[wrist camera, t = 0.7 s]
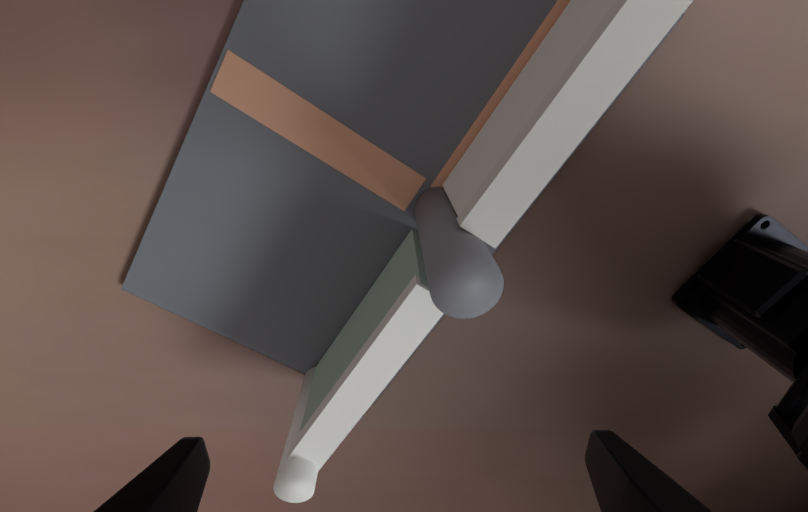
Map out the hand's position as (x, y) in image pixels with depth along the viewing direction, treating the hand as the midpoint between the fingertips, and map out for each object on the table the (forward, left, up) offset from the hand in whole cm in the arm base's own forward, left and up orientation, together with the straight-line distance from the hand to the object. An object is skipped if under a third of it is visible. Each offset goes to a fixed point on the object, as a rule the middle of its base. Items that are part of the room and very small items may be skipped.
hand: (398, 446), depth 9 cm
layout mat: (+3, -3, -13) cm, 14 cm away
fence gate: (-1, +5, -13) cm, 14 cm away
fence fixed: (-1, -8, -13) cm, 15 cm away
